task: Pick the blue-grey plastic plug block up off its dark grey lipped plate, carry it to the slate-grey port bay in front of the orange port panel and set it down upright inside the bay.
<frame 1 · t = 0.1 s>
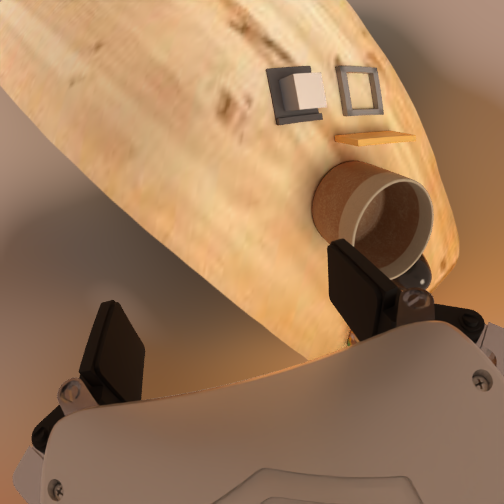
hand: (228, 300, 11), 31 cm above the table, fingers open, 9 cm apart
dark grey lipped plate: (293, 94, 36), on the table
planter: (349, 203, 46), on the table
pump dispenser: (378, 246, 52), on the table
plug: (294, 94, 35), resting on dark grey lipped plate
port: (358, 90, 37), on the table
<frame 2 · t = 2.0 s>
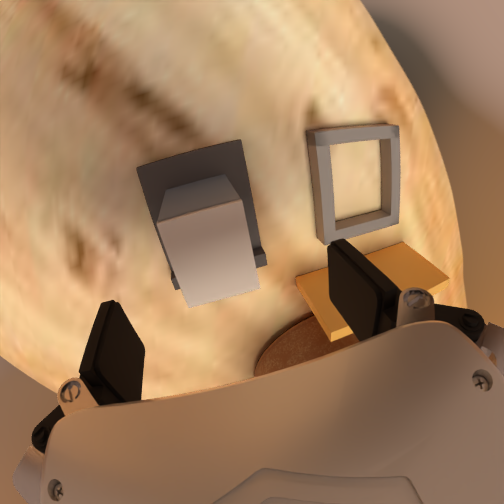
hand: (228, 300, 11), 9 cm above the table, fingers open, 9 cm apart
dark grey lipped plate: (203, 213, 19), on the table
planter: (318, 354, 30), on the table
plug: (204, 215, 18), resting on dark grey lipped plate
port: (354, 178, 20), on the table
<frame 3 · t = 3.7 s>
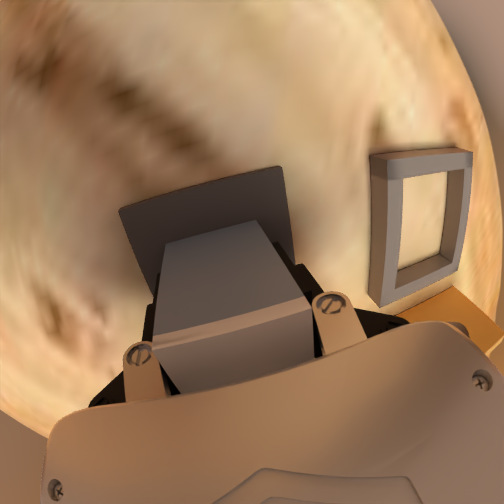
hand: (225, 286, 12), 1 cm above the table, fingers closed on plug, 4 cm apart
dark grey lipped plate: (222, 275, 13), on the table
plug: (223, 279, 13), resting on dark grey lipped plate, touching gripper
port: (418, 219, 14), on the table
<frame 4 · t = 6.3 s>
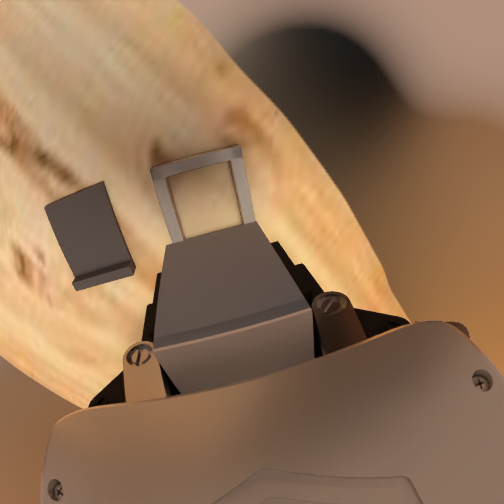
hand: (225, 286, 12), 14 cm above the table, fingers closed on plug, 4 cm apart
dark grey lipped plate: (88, 236, 23), on the table
plug: (224, 280, 13), point 13 cm above the table, touching gripper
port: (205, 200, 24), on the table
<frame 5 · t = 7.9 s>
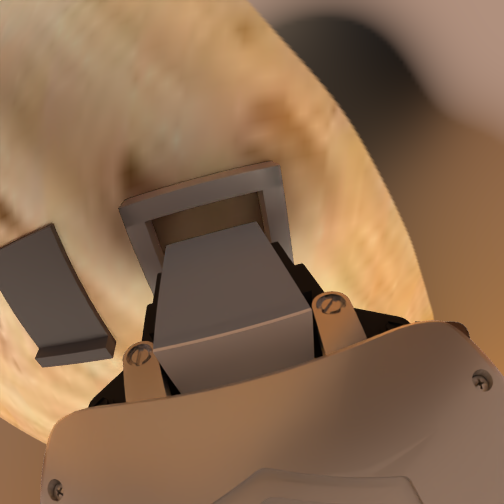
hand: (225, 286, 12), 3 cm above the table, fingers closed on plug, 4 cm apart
dark grey lipped plate: (45, 301, 14), on the table
plug: (224, 280, 13), point 3 cm above the table, touching gripper
port: (216, 253, 15), on the table
when the fingers open (2 cm above the table, at t = 8.9 s): plug drops 1 cm, resting in port.
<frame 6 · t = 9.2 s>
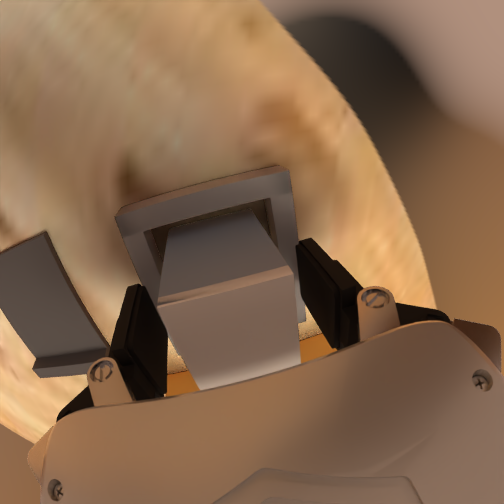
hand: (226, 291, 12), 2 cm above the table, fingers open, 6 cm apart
dark grey lipped plate: (41, 311, 13), on the table
plug: (220, 262, 14), resting in port
port: (220, 264, 14), on the table
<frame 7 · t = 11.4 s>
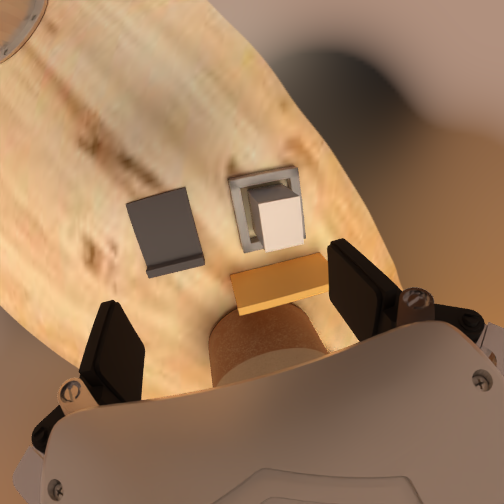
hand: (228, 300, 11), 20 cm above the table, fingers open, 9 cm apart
dark grey lipped plate: (165, 232, 30), on the table
planter: (260, 338, 40), on the table
plug: (267, 207, 31), resting in port
port: (267, 207, 31), on the table
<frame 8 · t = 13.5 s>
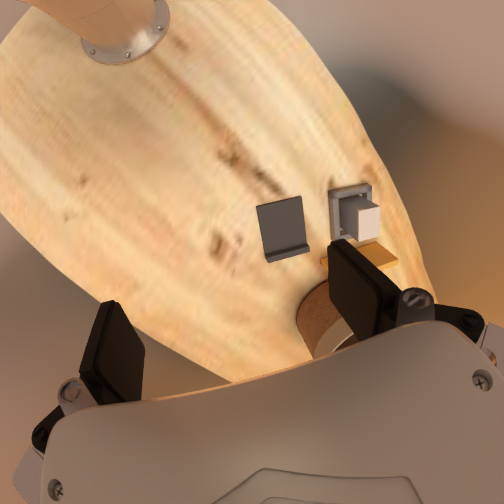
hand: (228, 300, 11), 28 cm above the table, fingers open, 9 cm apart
dark grey lipped plate: (282, 228, 42), on the table
planter: (331, 307, 53), on the table
plug: (349, 211, 43), resting in port
port: (349, 211, 43), on the table
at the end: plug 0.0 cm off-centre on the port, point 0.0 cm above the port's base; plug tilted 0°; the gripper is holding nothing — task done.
